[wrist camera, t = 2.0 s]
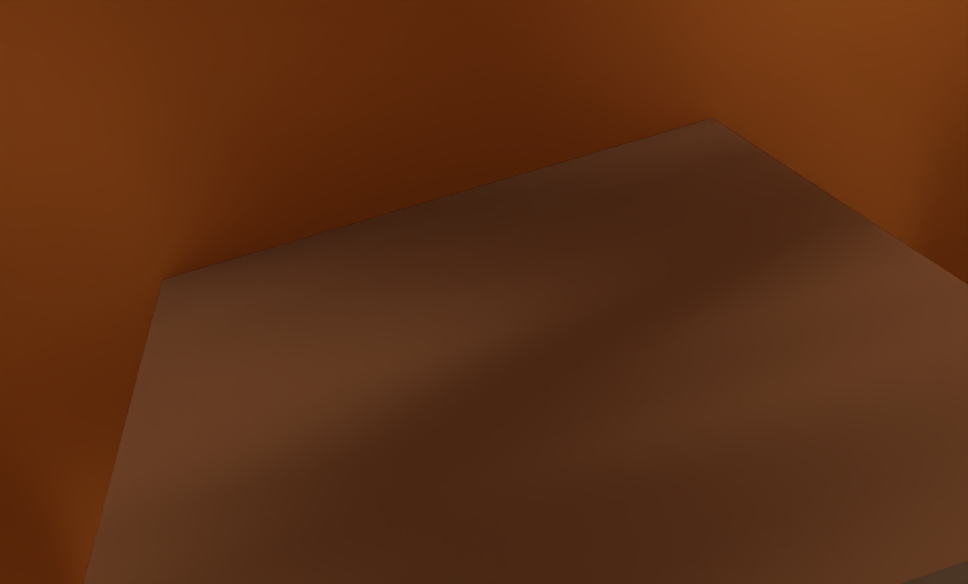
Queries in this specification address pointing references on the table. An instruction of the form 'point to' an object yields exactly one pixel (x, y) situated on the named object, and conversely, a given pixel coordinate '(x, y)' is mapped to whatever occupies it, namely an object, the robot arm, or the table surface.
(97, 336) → the table surface
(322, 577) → the walnut cube
